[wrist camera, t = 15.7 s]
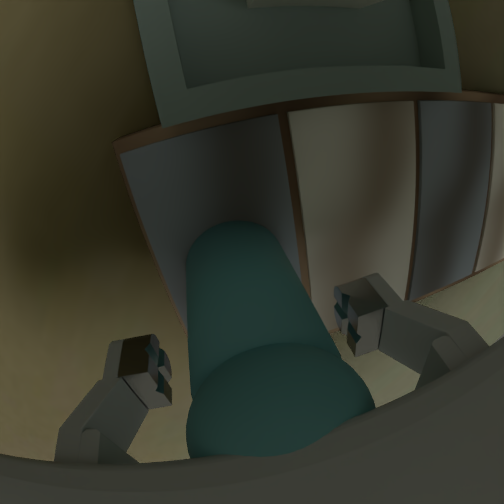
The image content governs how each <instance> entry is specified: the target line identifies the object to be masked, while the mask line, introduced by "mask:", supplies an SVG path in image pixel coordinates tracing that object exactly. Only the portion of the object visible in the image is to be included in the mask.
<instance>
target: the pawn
mask: <svg viewBox="0 0 504 504" xmlns="http://www.w3.org/2000/svg"><path fill="white" fill-rule="evenodd" d="M186 301H187V331H188V353H189V370H190V385H191V395H192V399H193V401H192V404H191V407H190V409H189V413H188V418H187V424H186V440H187V447H188V453H189V456H190V459H191V458H199V457H205V456H212V455H224V454H227V455H241V456H254V457H268V456H278V455H283V454H288V453H291V452H294V451H297V450H300V449H303V448H305V447H307V446H309V445H311V444H312V443H314V442H316V441H318V440H319V439H321V438H322V437H323V436H325V435H327V434H328V433H330V432H331V431H332V430H333V429H334V428H336V427H338V426H339V425H341V424H342V423H343V422H345V421H347V420H349V419H351V418H353V417H355V416H358V415H360V414H363V413H365V412H368V411H370V410H373V409H375V408H376V407H375V403H374V400H373V398H372V396H371V394H370V391H369V389H368V387H367V386H366V384H365V383H364V381H363V380H362V378H361V377H360V376H359V375H358V374H357V373H356V372H355V370H354V369H353V368H352V367H351V366H349V365H348V364H347V363H346V362H344V361H343V360H342V359H341V356H340V353H339V351H338V349H337V347H336V345H335V343H334V342H333V340H332V338H331V336H330V334H329V332H328V330H327V329H326V327H325V325H324V323H323V321H322V319H321V317H320V316H319V314H318V312H317V310H316V308H315V306H314V304H313V303H312V301H311V299H310V297H309V295H308V294H307V292H306V290H305V288H304V286H303V284H302V283H301V281H300V279H299V277H298V275H297V274H296V272H295V270H294V268H293V266H292V265H291V263H290V261H289V259H288V257H287V256H286V254H285V252H284V250H283V249H282V247H281V245H280V243H279V242H278V240H277V238H276V237H275V236H274V235H273V234H272V233H271V232H270V231H269V230H268V229H266V228H265V227H263V226H261V225H259V224H256V223H253V222H249V221H239V220H237V221H228V222H224V223H220V224H217V225H215V226H213V227H211V228H209V229H208V230H206V231H205V232H204V233H202V234H201V235H200V236H199V237H198V238H197V239H196V240H195V242H194V243H193V245H192V246H191V248H190V250H189V253H188V255H187V260H186Z"/></svg>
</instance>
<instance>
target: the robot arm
mask: <svg viewBox="0 0 504 504" xmlns="http://www.w3.org/2000/svg"><path fill="white" fill-rule="evenodd" d="M334 297H335V299H336V301H337V303H336V304H335V306H334V315H335V319H336V323H337V325H338V328H339V330H340V331H341V333H342V334H344V335H347V344H348V346H349V347H350V349H351V351H352V353H353V354H354V356H355V357H357V356H360V355H363V354H365V353H368V352H371V351H374V350H377V349H379V350H380V351H381V352H383V353H385V354H386V355H388V356H390V357H392V358H393V359H395V360H397V361H398V362H400V363H402V364H404V365H405V366H407V367H409V368H410V369H412V370H414V371H416V372H417V373H419V374H421V375H420V378H419V380H418V383H417V385H416V388H415V390H414V391H412V392H410V393H408V394H406V395H404V396H402V397H400V398H398V399H395V400H393V401H391V402H389V403H387V404H384V405H382V406H380V407H377V408H375V409H373V410H370V411H368V412H365V413H363V414H360V415H358V416H355V417H353V418H351V419H349V420H347V421H345V422H343V423H342V424H341V425H339V426H338V427H336V428H334V429H333V430H332V431H331V432H330V433H328V434H327V435H325V436H323V437H322V438H321V439H319V440H318V441H316V442H314V443H312V444H311V445H309V446H307V447H305V448H303V449H300V450H297V451H294V452H291V453H288V454H283V455H278V456H268V457H254V456H241V455H227V454H224V455H212V456H205V457H199V458H191V459H183V460H174V461H164V462H151V463H139V462H138V461H137V460H135V459H134V458H133V457H131V456H130V455H128V454H127V453H126V452H127V450H128V448H129V446H130V444H131V442H132V441H133V439H134V437H135V435H136V433H137V431H138V429H139V428H140V426H141V424H142V422H143V420H144V418H145V417H146V415H147V413H148V411H149V410H148V409H154V408H160V407H165V406H171V405H172V388H171V387H170V385H169V384H168V382H169V381H170V379H171V378H172V373H171V366H170V362H169V359H168V356H167V354H166V353H165V351H164V350H162V349H160V348H159V340H158V339H157V337H156V336H155V335H154V334H149V335H144V336H138V337H133V338H127V339H123V340H117V341H112V342H111V343H110V344H109V349H108V353H107V358H106V363H105V368H104V374H103V379H102V380H99V381H98V382H97V383H96V384H95V385H94V387H93V388H92V389H91V390H90V391H89V393H88V394H87V395H86V396H85V398H84V399H83V400H82V401H81V402H80V404H79V405H78V406H77V407H76V409H75V410H74V411H73V412H72V413H71V415H70V416H69V417H68V418H67V420H66V421H65V422H64V423H63V425H62V426H61V427H60V428H59V433H58V439H57V445H56V451H55V458H54V461H44V460H36V459H29V458H22V457H16V456H10V455H5V454H0V504H504V337H503V338H501V339H500V340H498V341H497V342H495V343H494V344H492V345H491V346H490V347H489V346H488V344H487V343H486V342H485V341H484V340H483V338H482V337H481V336H480V335H479V334H478V333H477V332H476V330H475V329H474V328H473V327H472V326H471V325H470V324H469V323H468V322H467V321H465V320H462V319H459V318H456V317H453V316H451V315H448V314H445V313H442V312H440V311H437V310H434V309H431V308H428V307H426V306H423V305H420V304H417V303H414V302H412V301H409V300H405V301H403V300H402V299H401V298H400V297H399V296H398V295H397V293H396V292H395V291H394V290H393V289H392V288H391V287H390V285H389V284H388V283H387V282H386V281H385V280H384V279H383V278H382V277H381V275H380V274H379V273H373V274H370V275H367V276H364V277H363V278H359V279H356V280H353V281H350V282H347V283H344V284H340V285H337V286H335V287H334Z"/></svg>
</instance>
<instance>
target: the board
mask: <svg viewBox="0 0 504 504" xmlns="http://www.w3.org/2000/svg"><path fill="white" fill-rule="evenodd" d="M112 144H113V148H114V151H115V154H116V157H117V161H118V164H119V167H120V170H121V173H122V176H123V179H124V182H125V185H126V188H127V191H128V194H129V197H130V200H131V203H132V206H133V208H134V211H135V214H136V217H137V219H138V222H139V225H140V228H141V230H142V233H143V236H144V238H145V241H146V243H147V246H148V248H149V251H150V253H151V256H152V258H153V261H154V263H155V266H156V268H157V271H158V273H159V276H160V278H161V280H162V283H163V285H164V287H165V290H166V292H167V294H168V297H169V299H170V301H171V303H172V306H173V308H174V310H175V312H176V314H177V317H178V319H179V321H180V323H181V325H182V327H183V330H184V332H185V334H186V336H187V338H188V331H187V301H186V260H187V255H188V253H189V250H190V248H191V246H192V245H193V243H194V242H195V240H196V239H197V238H198V237H199V236H200V235H201V234H202V233H204V232H205V231H206V230H208V229H209V228H211V227H213V226H215V225H217V224H220V223H224V222H228V221H237V220H239V221H249V222H253V223H256V224H259V225H261V226H263V227H265V228H266V229H268V230H269V231H270V232H271V233H272V234H273V235H274V236H275V237H276V238H277V240H278V242H279V243H280V245H281V247H282V249H283V250H284V252H285V254H286V256H287V257H288V259H289V261H290V263H291V265H292V266H293V268H294V270H295V272H296V274H297V275H298V277H299V279H300V281H301V283H302V284H303V286H304V288H305V290H306V292H307V294H308V295H309V297H310V299H311V301H312V303H313V304H314V306H315V308H316V310H317V312H318V314H319V316H320V317H321V319H322V321H323V323H324V325H325V327H326V329H327V330H328V332H329V334H330V333H333V332H336V331H339V328H338V325H337V323H336V319H335V315H334V306H335V304H336V303H337V301H336V299H335V297H334V287H335V286H337V285H340V284H344V283H347V282H350V281H353V280H356V279H359V278H363V277H364V276H367V275H370V274H373V273H379V274H380V275H381V277H382V278H383V279H384V280H385V281H386V282H387V283H388V284H389V285H390V287H391V288H392V289H393V290H394V291H395V292H396V293H397V295H398V296H399V297H400V298H401V299H402V300H403V301H405V300H409V301H412V302H416V301H419V300H421V299H423V298H426V297H428V296H430V295H433V294H435V293H437V292H440V291H442V290H444V289H446V288H448V287H451V286H453V285H455V284H457V283H459V282H461V281H464V280H466V279H468V278H470V277H472V276H474V275H476V274H478V273H480V272H482V271H484V270H486V269H488V268H490V267H492V266H494V265H496V264H498V263H500V262H502V261H504V94H497V93H489V92H481V91H471V90H462V93H453V92H425V91H399V92H370V93H354V94H342V95H331V96H321V97H313V98H305V99H297V100H290V101H284V102H277V103H271V104H265V105H260V106H254V107H249V108H244V109H239V110H234V111H229V112H225V113H220V114H216V115H212V116H207V117H203V118H199V119H195V120H191V121H188V122H184V123H180V124H177V125H173V126H170V127H166V128H163V129H162V126H161V124H159V125H156V126H153V127H150V128H146V129H143V130H140V131H137V132H134V133H131V134H128V135H125V136H122V137H119V138H118V139H116V140H115V141H113V142H112Z"/></svg>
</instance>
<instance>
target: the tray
mask: <svg viewBox="0 0 504 504" xmlns="http://www.w3.org/2000/svg"><path fill="white" fill-rule="evenodd" d="M133 1H134V6H135V12H136V17H137V22H138V27H139V32H140V36H141V41H142V46H143V50H144V55H145V59H146V64H147V68H148V73H149V77H150V81H151V85H152V90H153V94H154V98H155V102H156V106H157V110H158V114H159V118H160V122H161V126H162V129H163V128H166V127H170V126H173V125H177V124H180V123H184V122H188V121H191V120H195V119H199V118H203V117H207V116H212V115H216V114H220V113H225V112H229V111H234V110H239V109H244V108H249V107H254V106H260V105H265V104H271V103H277V102H284V101H290V100H297V99H305V98H313V97H321V96H331V95H342V94H354V93H370V92H399V91H425V92H453V93H462V87H461V75H460V65H459V57H458V50H457V43H456V37H455V31H454V26H453V20H452V15H451V11H450V6H449V2H448V0H384V1H381V2H378V3H374V4H372V5H369V6H366V7H363V8H360V9H357V8H345V7H328V6H280V7H262V8H250V9H248V7H247V2H246V0H133Z"/></svg>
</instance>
